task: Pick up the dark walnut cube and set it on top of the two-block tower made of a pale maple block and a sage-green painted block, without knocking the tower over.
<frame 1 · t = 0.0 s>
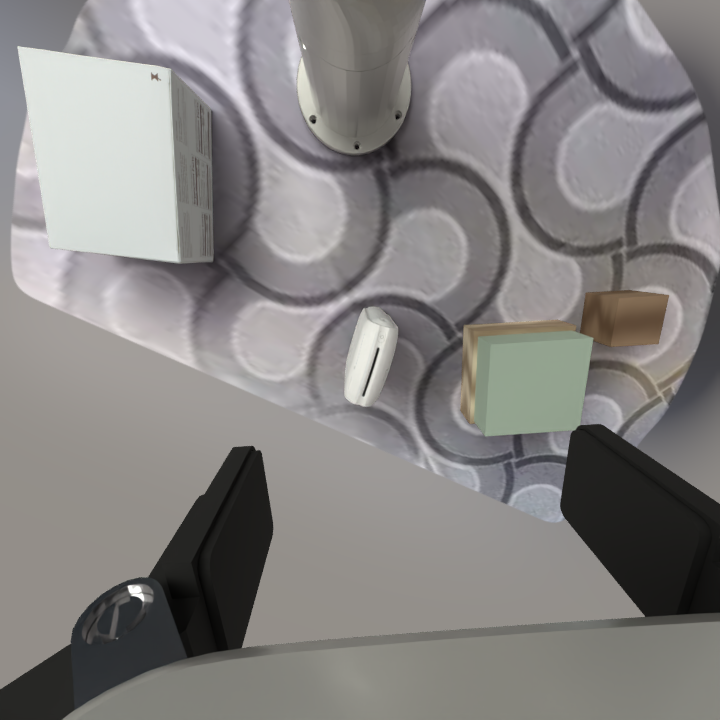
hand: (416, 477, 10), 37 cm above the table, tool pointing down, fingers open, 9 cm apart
photo printer: (366, 341, 47), on the table
sage top block: (520, 377, 45), point 4 cm above the table, touching maple base block
walnut cube: (603, 313, 47), on the table
supplement box: (159, 183, 41), on the table
maple base block: (505, 366, 49), on the table, touching sage top block
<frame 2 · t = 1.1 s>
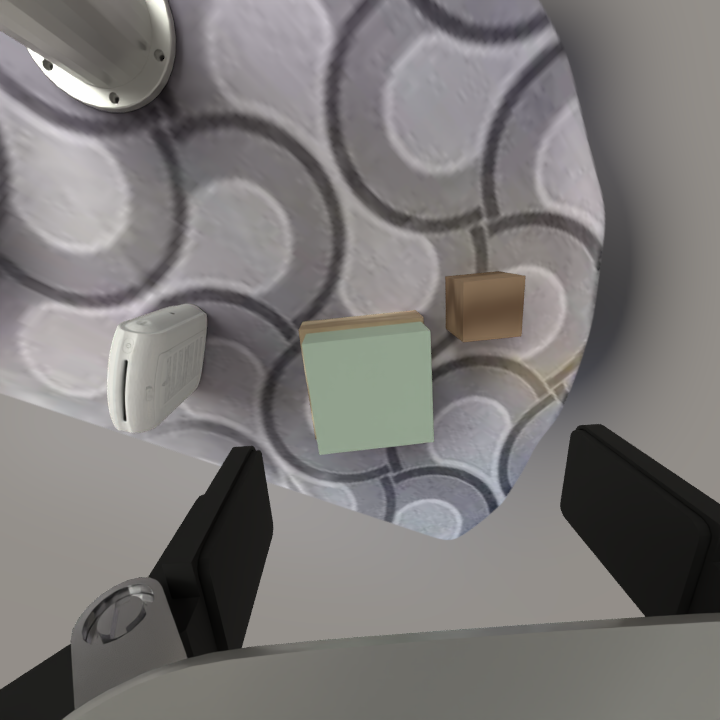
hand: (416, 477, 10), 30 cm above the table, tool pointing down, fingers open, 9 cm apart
photo printer: (188, 345, 39), on the table
sage top block: (368, 380, 37), point 4 cm above the table, touching maple base block
walnut cube: (471, 300, 39), on the table
maple base block: (363, 367, 41), on the table, touching sage top block
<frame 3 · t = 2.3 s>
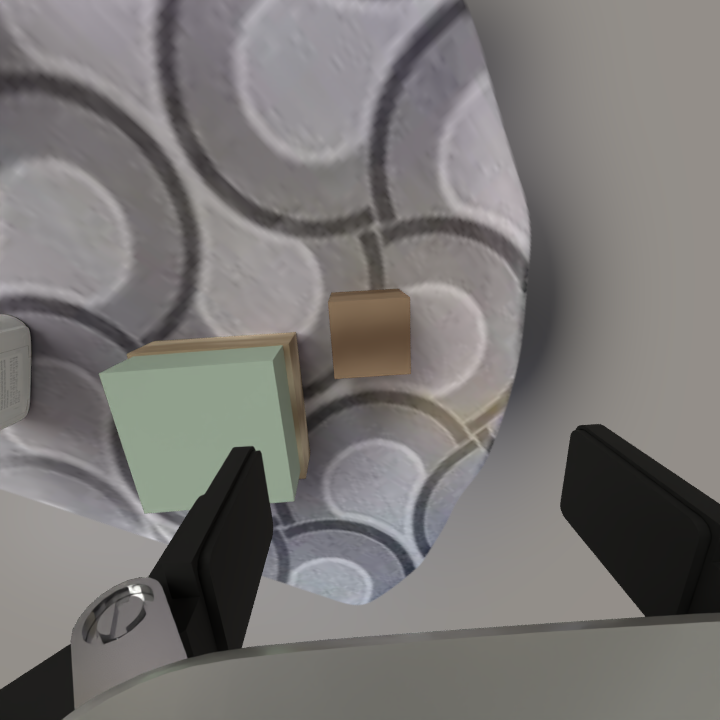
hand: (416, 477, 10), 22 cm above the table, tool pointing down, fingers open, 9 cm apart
photo printer: (13, 365, 31), on the table
sage top block: (222, 417, 29), point 4 cm above the table, touching maple base block
walnut cube: (366, 323, 31), on the table
maple base block: (238, 399, 33), on the table, touching sage top block
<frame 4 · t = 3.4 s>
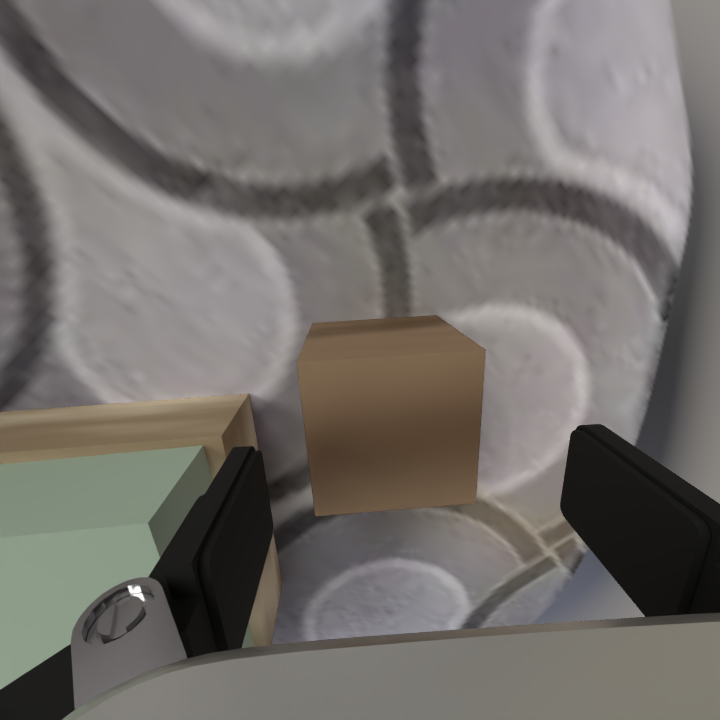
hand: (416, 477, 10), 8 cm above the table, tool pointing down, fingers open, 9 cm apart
sage top block: (98, 573, 15), point 4 cm above the table
walnut cube: (377, 376, 17), on the table
maple base block: (155, 502, 19), on the table
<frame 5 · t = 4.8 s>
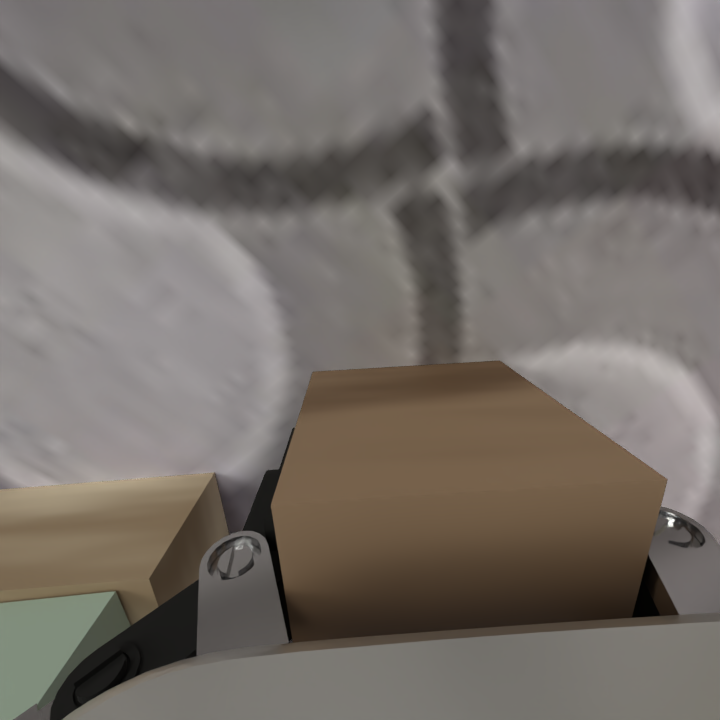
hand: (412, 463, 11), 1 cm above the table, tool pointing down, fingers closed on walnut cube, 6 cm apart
walnut cube: (407, 448, 12), on the table, touching gripper
maple base block: (94, 610, 14), on the table, touching sage top block
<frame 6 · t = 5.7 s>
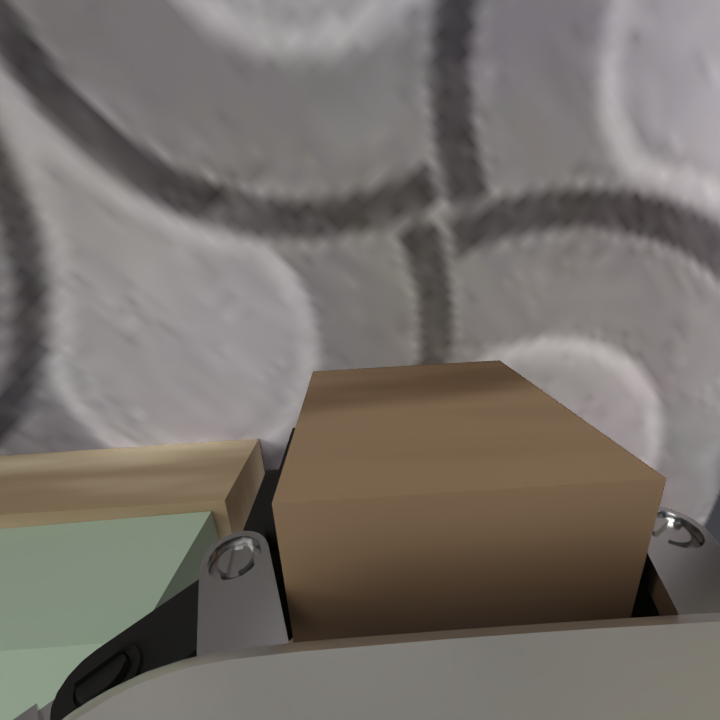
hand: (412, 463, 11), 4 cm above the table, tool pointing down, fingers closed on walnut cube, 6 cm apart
sage top block: (92, 652, 13), point 4 cm above the table, touching maple base block
walnut cube: (407, 447, 12), point 3 cm above the table, touching gripper
maple base block: (155, 554, 17), on the table, touching sage top block
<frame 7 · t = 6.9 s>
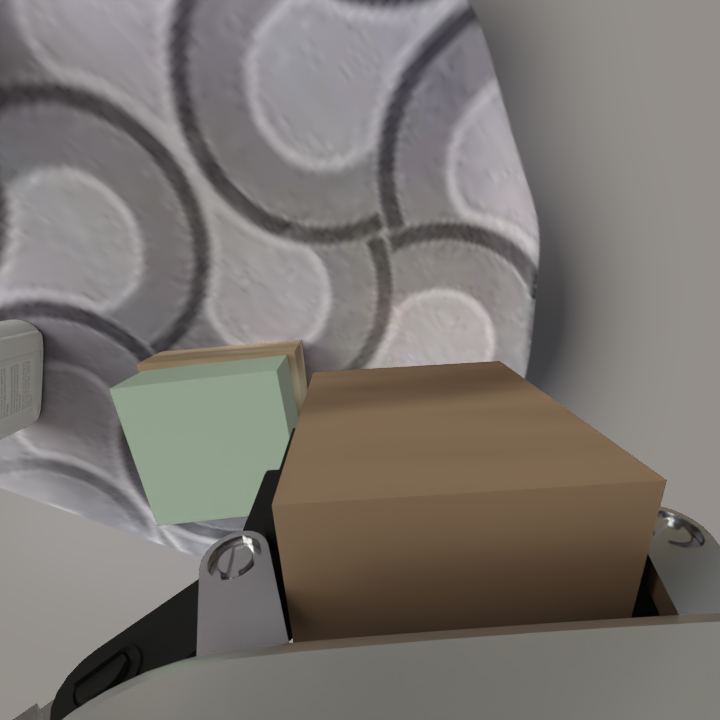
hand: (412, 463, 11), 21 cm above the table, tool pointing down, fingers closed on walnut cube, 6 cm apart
photo printer: (25, 370, 32), on the table
sage top block: (230, 428, 29), point 4 cm above the table, touching maple base block
walnut cube: (407, 448, 12), point 20 cm above the table, touching gripper
maple base block: (245, 406, 34), on the table, touching sage top block
when the fingers open (10 cm above the table, at t = 10.6 s): walnut cube drops 1 cm, resting on sage top block.
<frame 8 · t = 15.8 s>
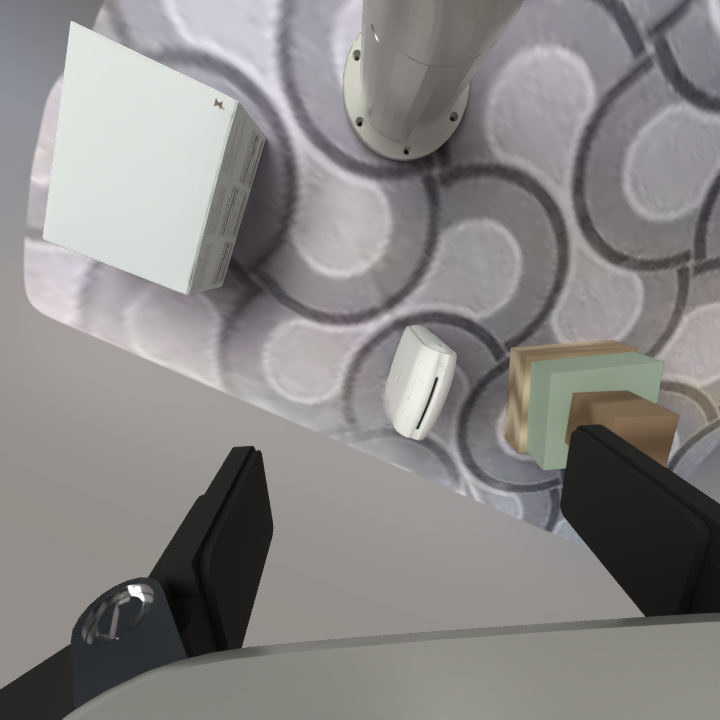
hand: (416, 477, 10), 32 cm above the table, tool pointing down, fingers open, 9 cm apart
photo printer: (407, 361, 43), on the table
sage top block: (577, 403, 41), point 4 cm above the table, touching maple base block, walnut cube
walnut cube: (595, 416, 37), point 8 cm above the table, touching sage top block
supplement box: (186, 192, 37), on the table
maple base block: (553, 389, 45), on the table, touching sage top block
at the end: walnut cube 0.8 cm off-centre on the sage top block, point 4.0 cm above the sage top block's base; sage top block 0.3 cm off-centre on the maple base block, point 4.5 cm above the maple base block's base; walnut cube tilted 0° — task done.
